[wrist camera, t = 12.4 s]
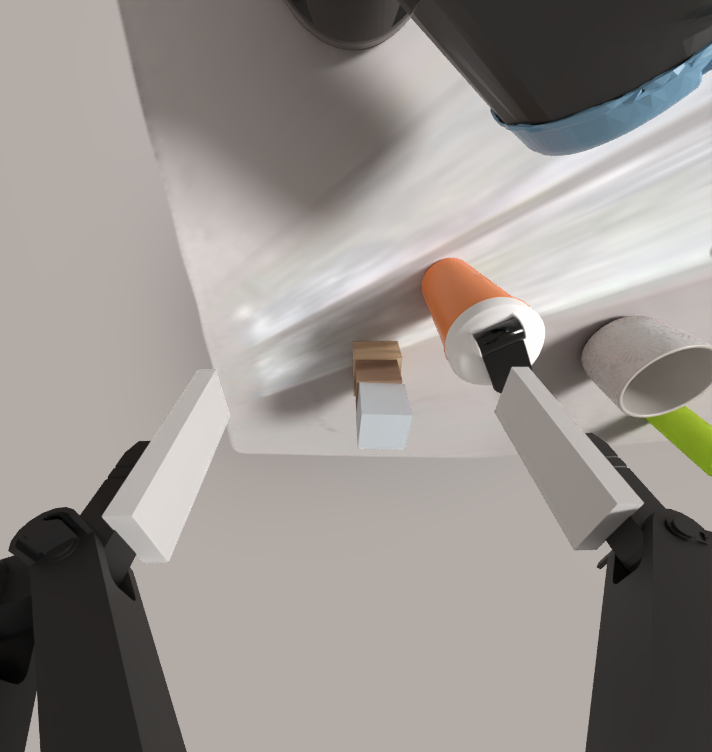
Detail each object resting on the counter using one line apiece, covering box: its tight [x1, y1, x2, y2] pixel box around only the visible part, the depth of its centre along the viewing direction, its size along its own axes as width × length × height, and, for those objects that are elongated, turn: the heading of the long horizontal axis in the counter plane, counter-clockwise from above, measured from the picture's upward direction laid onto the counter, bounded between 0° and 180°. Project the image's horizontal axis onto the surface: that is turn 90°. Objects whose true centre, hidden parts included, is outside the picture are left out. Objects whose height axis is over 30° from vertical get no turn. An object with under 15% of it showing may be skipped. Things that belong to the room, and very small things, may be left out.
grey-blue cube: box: [356, 382, 413, 450], centre depth 40 cm, size 6×6×6 cm
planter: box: [581, 316, 712, 417], centre depth 45 cm, size 12×12×11 cm
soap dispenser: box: [644, 406, 712, 476], centre depth 51 cm, size 6×7×20 cm
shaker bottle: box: [422, 258, 545, 393], centre depth 35 cm, size 9×9×20 cm
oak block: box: [353, 341, 402, 396], centre depth 48 cm, size 7×7×5 cm
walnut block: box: [355, 359, 402, 412], centre depth 44 cm, size 6×6×5 cm
